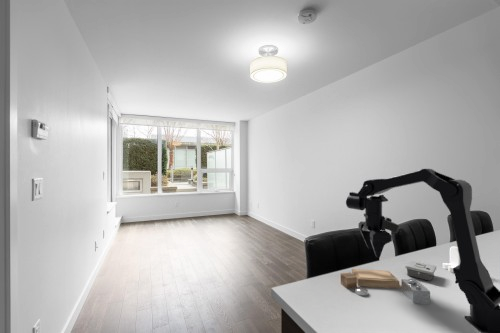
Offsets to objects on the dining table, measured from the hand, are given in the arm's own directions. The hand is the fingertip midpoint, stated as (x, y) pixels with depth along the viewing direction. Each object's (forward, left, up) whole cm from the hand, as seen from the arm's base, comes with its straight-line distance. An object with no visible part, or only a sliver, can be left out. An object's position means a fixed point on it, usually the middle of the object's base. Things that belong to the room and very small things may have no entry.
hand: (373, 253), depth 94 cm
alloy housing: (-10, -10, -11) cm, 18 cm away
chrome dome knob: (-10, +7, -11) cm, 17 cm away
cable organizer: (+15, -39, -11) cm, 43 cm away
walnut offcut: (-5, +10, -11) cm, 16 cm away
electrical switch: (+6, -24, -11) cm, 27 cm away
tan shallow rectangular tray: (0, 0, -11) cm, 11 cm away
